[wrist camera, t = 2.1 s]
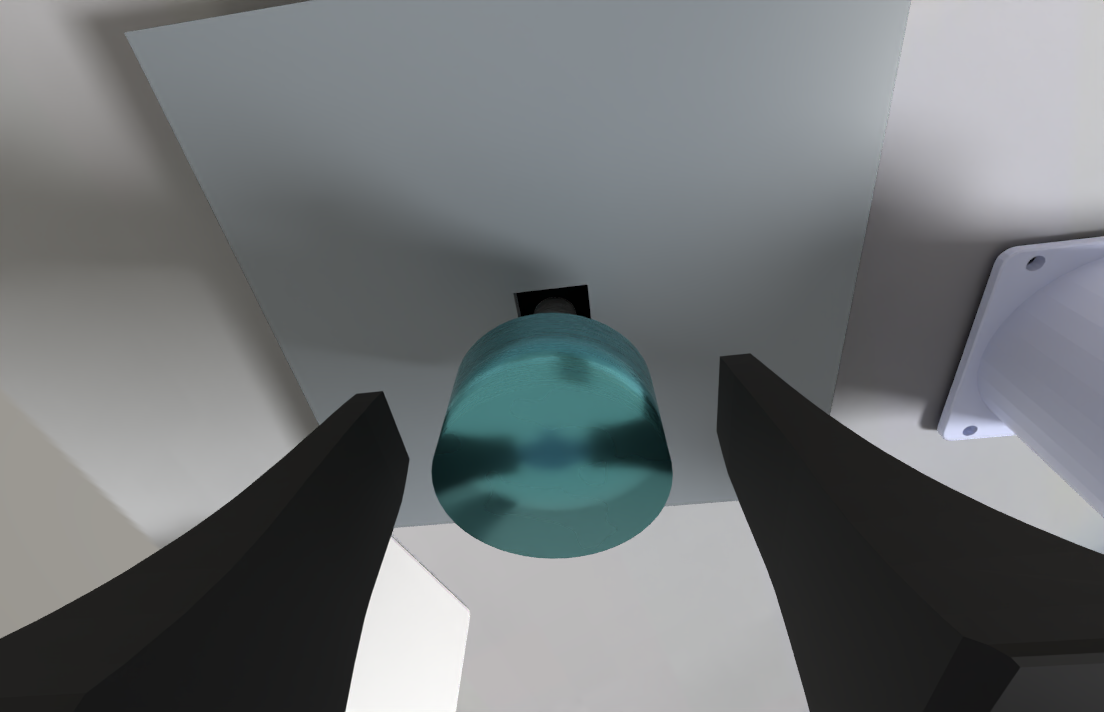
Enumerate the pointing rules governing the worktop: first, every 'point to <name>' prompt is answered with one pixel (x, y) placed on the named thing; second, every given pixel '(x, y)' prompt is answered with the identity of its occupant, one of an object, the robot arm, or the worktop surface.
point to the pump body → (540, 187)
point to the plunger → (552, 438)
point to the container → (409, 641)
